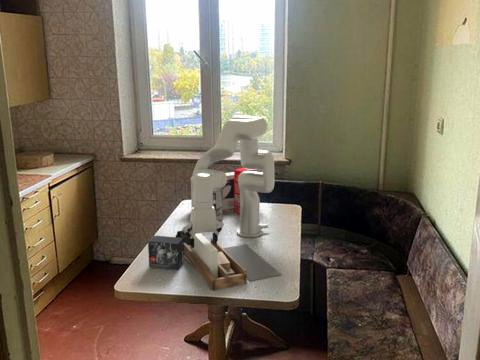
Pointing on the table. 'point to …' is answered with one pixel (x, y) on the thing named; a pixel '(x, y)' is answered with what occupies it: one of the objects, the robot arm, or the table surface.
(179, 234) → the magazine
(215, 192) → the coffee box
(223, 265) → the offcut short
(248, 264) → the mat
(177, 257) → the small box
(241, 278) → the rack
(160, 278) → the table surface
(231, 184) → the packaging
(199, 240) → the cream rectangular panel
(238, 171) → the food packaging
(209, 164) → the robot arm
